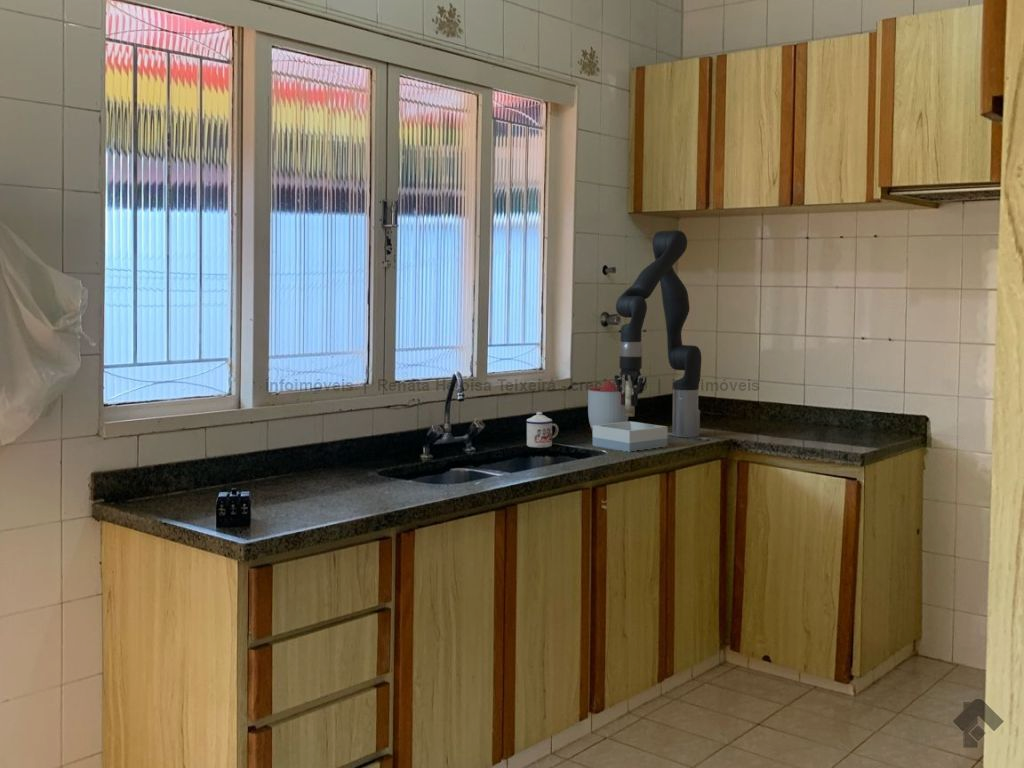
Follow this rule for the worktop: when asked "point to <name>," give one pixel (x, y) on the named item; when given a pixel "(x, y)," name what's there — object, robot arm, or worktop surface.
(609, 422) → the citrus juicer
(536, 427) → the teacup with lid
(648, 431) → the box
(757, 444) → the worktop surface
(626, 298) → the robot arm
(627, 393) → the peg
